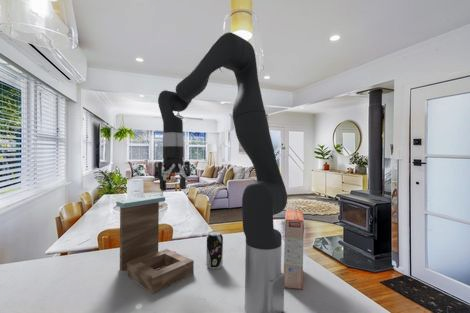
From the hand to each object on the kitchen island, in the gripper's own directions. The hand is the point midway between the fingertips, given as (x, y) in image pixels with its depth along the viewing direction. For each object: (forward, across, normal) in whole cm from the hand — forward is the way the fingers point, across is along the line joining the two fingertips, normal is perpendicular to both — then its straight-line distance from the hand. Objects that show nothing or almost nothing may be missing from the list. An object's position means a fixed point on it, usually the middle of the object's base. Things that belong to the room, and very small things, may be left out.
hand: (173, 189), depth 89 cm
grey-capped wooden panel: (+27, -8, +8) cm, 29 cm away
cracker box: (+28, +18, -39) cm, 51 cm away
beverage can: (+27, +7, -14) cm, 31 cm away
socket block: (+27, -9, -5) cm, 29 cm away
